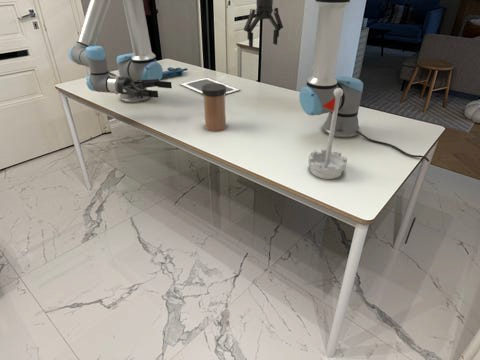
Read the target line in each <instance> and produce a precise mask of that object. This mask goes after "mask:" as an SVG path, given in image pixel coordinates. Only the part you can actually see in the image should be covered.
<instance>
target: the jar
mask: <svg viewBox="0 0 480 360" xmlns="http://www.w3.org/2000/svg"><path fill="white" fill-rule="evenodd" d="M203 107H204V124H205V129H206V130H207V131H210V132H219V131H223V130H225V129H226V127H227V118H226V115H227V114H226V95H225V94H224V95H221V96H206V95H203Z"/></svg>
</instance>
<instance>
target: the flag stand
mask: <svg viewBox="0 0 480 360" xmlns="http://www.w3.org/2000/svg"><path fill="white" fill-rule="evenodd" d="M342 95H343V90H342V89H341V88H336V89H335V90H334V96H335V98H334V99H332V100H331V101H329V102H328V103H326V104H325V105H323V107H326V108H328V109H330V110H332V111H333V114H332V121H331V127H330V134H328V141H327V147H326V148H321V149H320V151H317V150H315V149H314V150H312V151H311V152H310V155H308V162H307V163H308V165H309V166H310V167H309V169H310V173H311V174H313V176H315V177H318V178H321V179H325V180H332V179H337V178H339V177H341V176H342V174H343V171H344V170H345V169H346V168H347V164H348V158H347V156H346V155H342V152H340V151H338V150H334V151H332V149H333V143H334V132H335V126H336V120H337V113H338V107H339V101H340V97H341V96H342Z"/></svg>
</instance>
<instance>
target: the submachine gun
mask: <svg viewBox="0 0 480 360" xmlns="http://www.w3.org/2000/svg"><path fill="white" fill-rule="evenodd" d="M186 71H188V67H186V68H182V67H176V68H175V67H171V66H169V67H168V68H167V70H163V75H162V78H161V79H163V78H167V77H168V78H169V77H172V76H176V75H182V74H183V73H184V72H186Z"/></svg>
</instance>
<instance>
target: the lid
mask: <svg viewBox="0 0 480 360" xmlns="http://www.w3.org/2000/svg"><path fill="white" fill-rule="evenodd" d="M223 84H224V83H223ZM223 84H217V83H213V84H206V85H204V86H203V87H202V93H203V94H204V95H206V96H221V95H224V94H225V93H226V86H225V85H223ZM203 94H202V95H203ZM204 95H203V96H204Z"/></svg>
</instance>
